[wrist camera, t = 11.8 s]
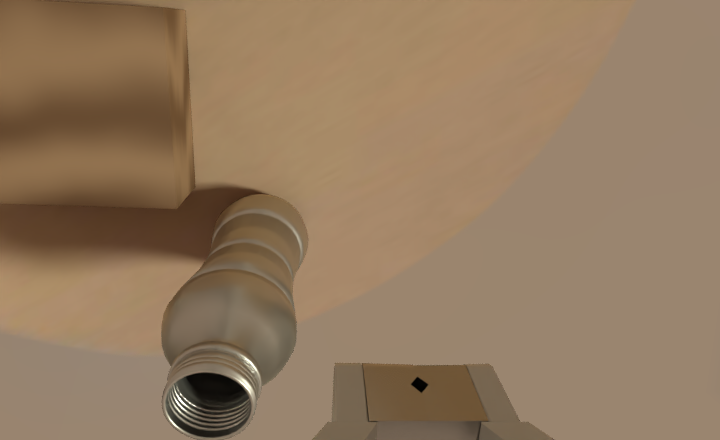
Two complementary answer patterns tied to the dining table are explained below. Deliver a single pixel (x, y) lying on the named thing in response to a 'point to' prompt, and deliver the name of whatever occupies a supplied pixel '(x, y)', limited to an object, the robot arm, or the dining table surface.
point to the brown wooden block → (94, 105)
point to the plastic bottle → (233, 319)
